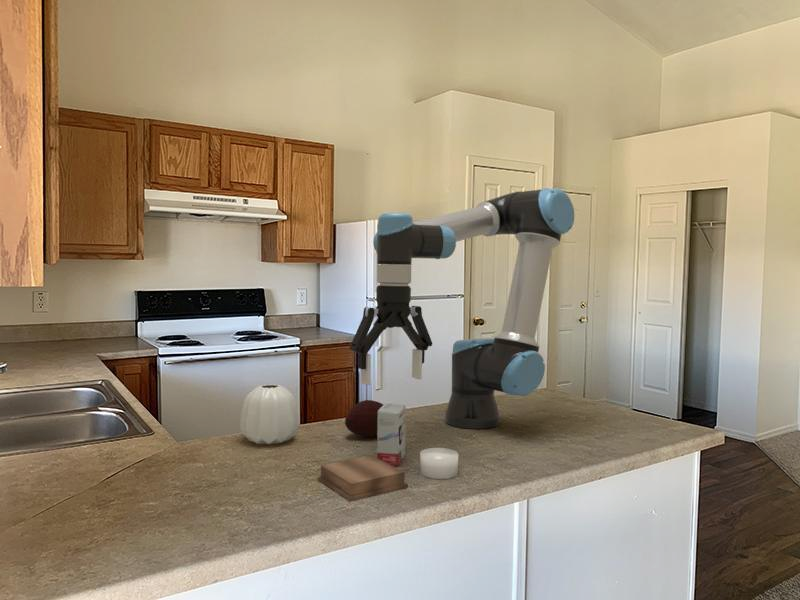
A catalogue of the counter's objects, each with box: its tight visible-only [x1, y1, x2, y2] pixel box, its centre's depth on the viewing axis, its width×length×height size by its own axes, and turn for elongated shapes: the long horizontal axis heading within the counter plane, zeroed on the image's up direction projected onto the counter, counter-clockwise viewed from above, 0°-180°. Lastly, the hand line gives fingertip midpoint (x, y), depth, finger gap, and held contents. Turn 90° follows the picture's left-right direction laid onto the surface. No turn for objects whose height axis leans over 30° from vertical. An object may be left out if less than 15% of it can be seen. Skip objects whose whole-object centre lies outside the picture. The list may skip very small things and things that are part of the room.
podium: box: [317, 455, 409, 502], centre depth 122 cm, size 13×13×3 cm
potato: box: [344, 399, 384, 438], centre depth 154 cm, size 9×12×9 cm
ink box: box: [376, 403, 407, 467], centre depth 136 cm, size 9×5×12 cm, turn 168°
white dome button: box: [419, 447, 459, 480], centre depth 129 cm, size 8×8×4 cm
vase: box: [239, 383, 300, 445], centre depth 150 cm, size 14×14×13 cm
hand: (391, 381), depth 136 cm, fingers open, 13 cm apart
